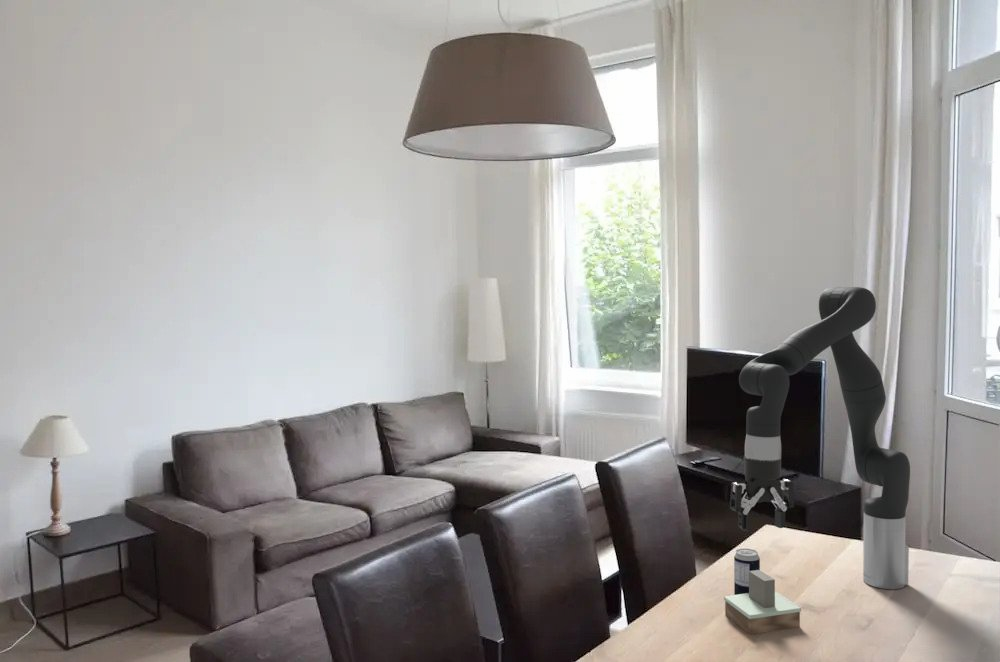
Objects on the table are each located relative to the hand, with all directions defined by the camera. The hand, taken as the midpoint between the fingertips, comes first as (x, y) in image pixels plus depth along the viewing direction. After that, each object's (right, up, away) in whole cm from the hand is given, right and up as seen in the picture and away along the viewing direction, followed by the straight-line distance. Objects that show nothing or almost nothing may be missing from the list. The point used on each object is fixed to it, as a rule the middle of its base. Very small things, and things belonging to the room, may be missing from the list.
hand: (761, 528), depth 171 cm
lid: (0, -17, +1) cm, 17 cm away
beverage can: (+1, -21, +13) cm, 24 cm away
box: (0, -21, +1) cm, 21 cm away
